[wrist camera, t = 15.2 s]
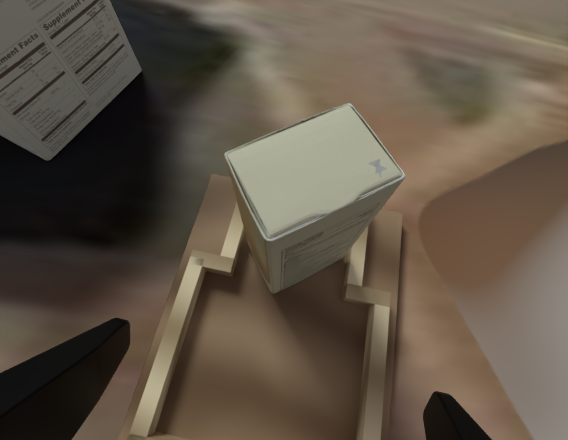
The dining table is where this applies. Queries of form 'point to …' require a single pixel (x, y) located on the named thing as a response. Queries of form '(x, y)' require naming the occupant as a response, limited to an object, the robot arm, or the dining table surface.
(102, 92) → the supplement box
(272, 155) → the skincare box
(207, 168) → the dining table surface
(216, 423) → the keyhole guide
